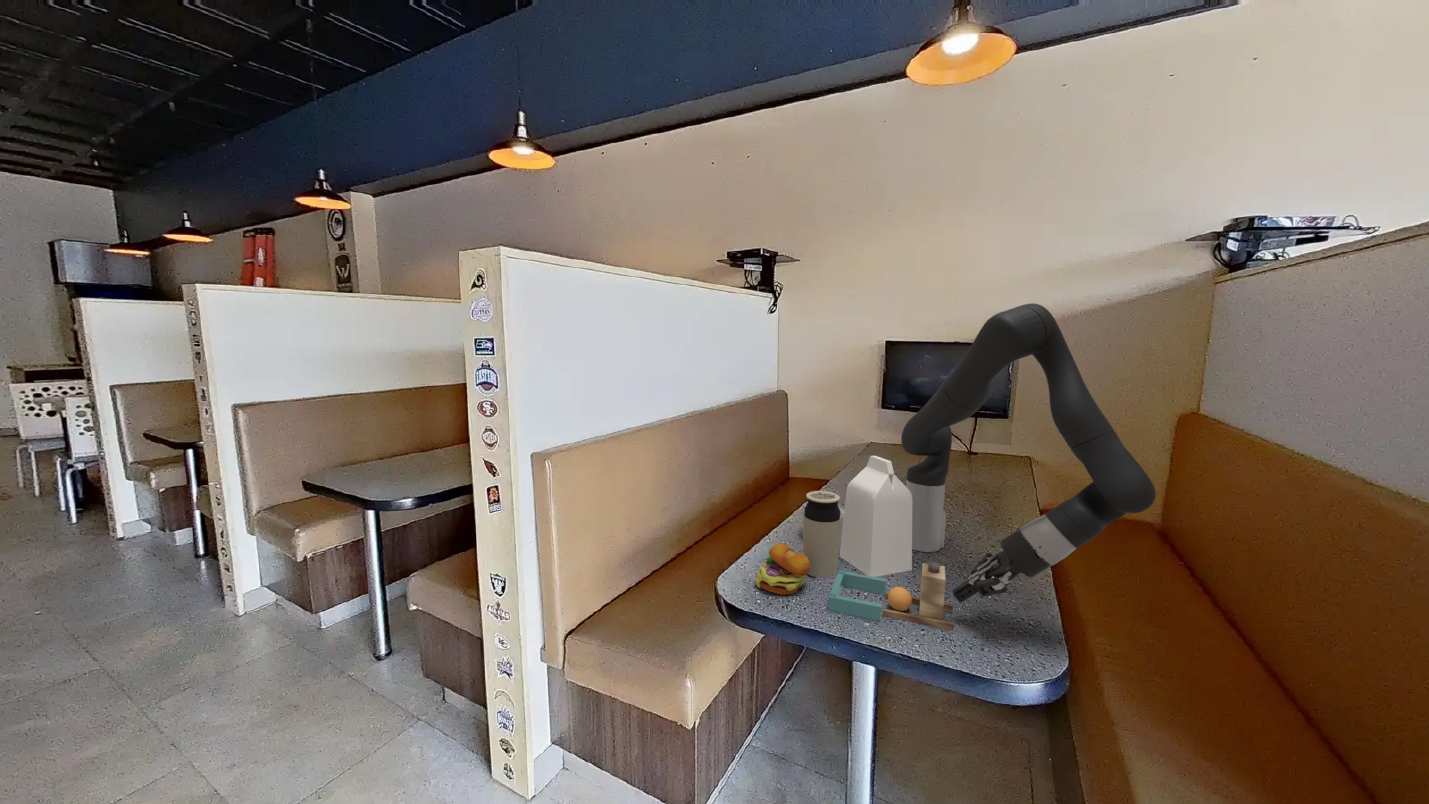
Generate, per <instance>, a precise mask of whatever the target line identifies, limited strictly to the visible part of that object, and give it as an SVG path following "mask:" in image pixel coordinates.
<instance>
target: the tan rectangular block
mask: <svg viewBox="0 0 1429 804" xmlns="http://www.w3.org/2000/svg"><path fill="white" fill-rule="evenodd" d="M921 567H922V568H921V577H920V578H921V580H920V595H919V598H920V605H919V611H918V612H919V613H918V614H919V615H918V616H923V617H928V618H932V619H937V620H942V621H944V620H943V618H944V610H943V606H944V603H945V590H946V579H947V578H946V567H945V566H944V565H940V563H938V562H936V561H929V562H928V563H925V562H922V566H921Z"/></svg>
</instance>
